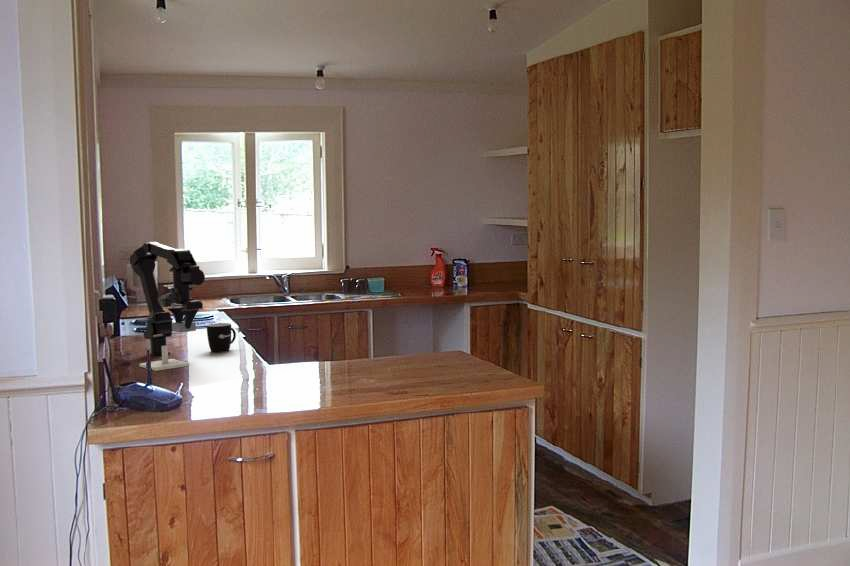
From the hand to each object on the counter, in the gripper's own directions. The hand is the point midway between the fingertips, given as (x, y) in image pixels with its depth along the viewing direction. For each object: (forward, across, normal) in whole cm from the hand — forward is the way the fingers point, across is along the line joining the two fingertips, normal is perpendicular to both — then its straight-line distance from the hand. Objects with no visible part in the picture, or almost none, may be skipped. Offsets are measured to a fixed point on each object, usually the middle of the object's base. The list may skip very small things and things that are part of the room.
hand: (183, 328), depth 292 cm
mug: (+11, -5, +18) cm, 22 cm away
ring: (+1, 0, 0) cm, 1 cm away
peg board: (+11, +8, -12) cm, 18 cm away
